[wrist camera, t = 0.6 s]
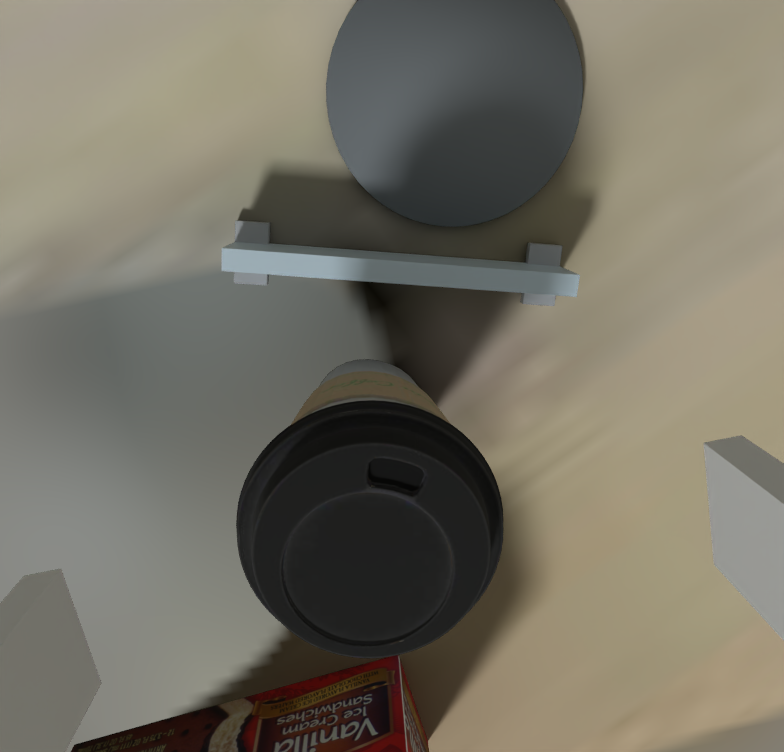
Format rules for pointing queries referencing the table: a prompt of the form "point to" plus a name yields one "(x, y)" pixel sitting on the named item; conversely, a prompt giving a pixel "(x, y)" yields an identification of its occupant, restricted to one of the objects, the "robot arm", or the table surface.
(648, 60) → the table surface
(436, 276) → the grey bar handle
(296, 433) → the coffee cup
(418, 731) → the ice cream box
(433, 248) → the table surface
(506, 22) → the coaster
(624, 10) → the table surface
